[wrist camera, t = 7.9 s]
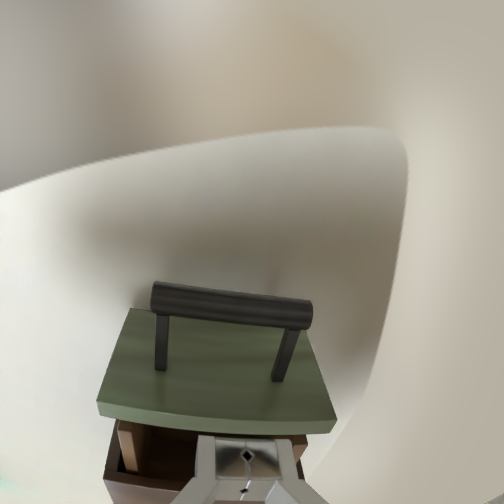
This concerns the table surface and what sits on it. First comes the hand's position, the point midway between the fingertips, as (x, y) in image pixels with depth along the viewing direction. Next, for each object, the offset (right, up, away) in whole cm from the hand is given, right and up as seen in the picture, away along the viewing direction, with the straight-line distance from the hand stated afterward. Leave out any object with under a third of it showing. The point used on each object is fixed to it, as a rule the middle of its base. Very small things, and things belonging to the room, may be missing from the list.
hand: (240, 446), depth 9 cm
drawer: (-2, -2, +12) cm, 13 cm away
